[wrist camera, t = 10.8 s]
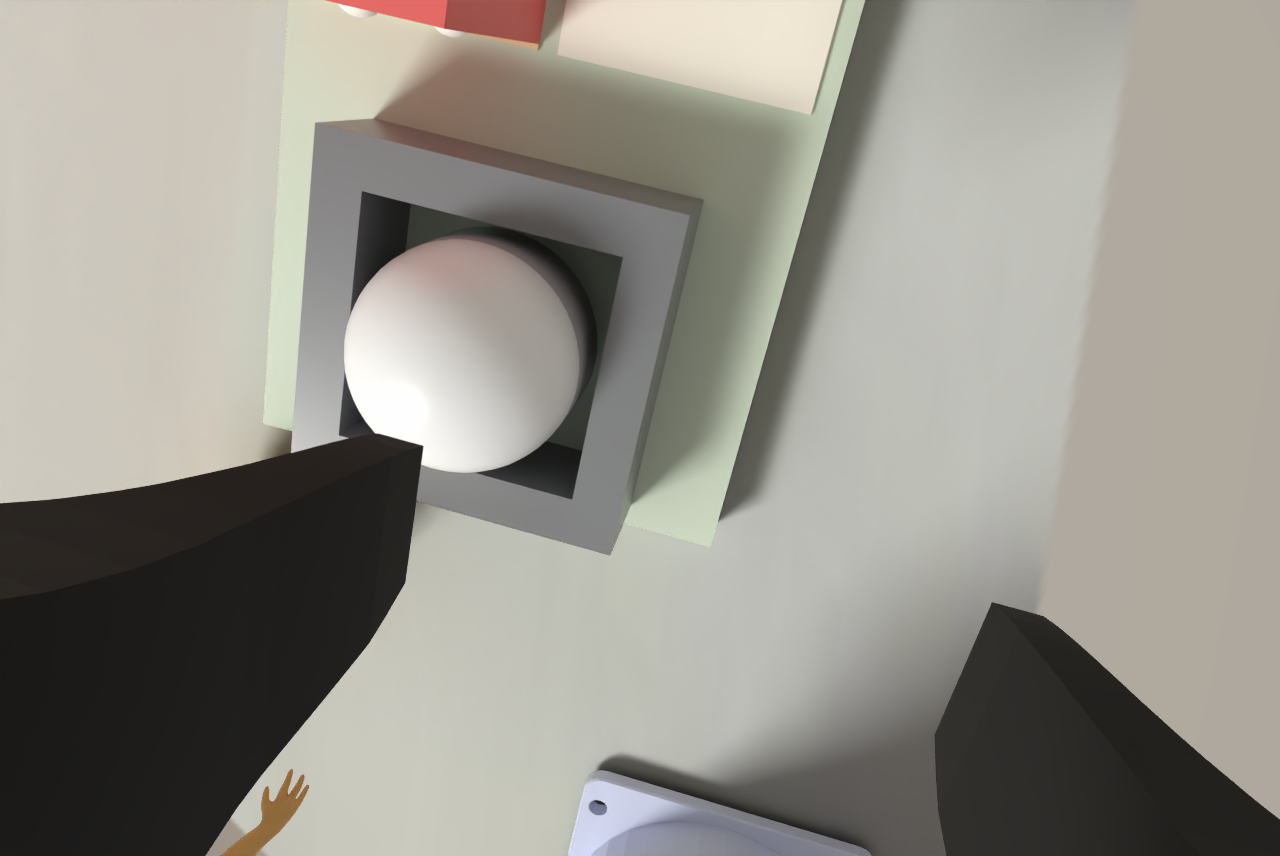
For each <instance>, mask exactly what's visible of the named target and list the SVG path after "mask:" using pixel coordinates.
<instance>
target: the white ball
mask: <svg viewBox="0 0 1280 856" xmlns="http://www.w3.org/2000/svg"><path fill="white" fill-rule="evenodd" d="M596 356H597V327H596V320H595V316H594V313H593V309H592V306H591V303H590V301H589V298H588V296H587V293H586V292H585V290H584V288H583V286H582V284H581V283H580V281H579V279H578V278H577V277H576V275H575V274H574V273H573V271H572V270H571V269H570V267H569V266H568V265H567V264H566V263H565V262H564V261H563V260H562V259H561V258H560V257H559V256H558V255H556V254H555V253H554V252H553V251H552V250H550V249H549V248H548V247H546V246H545V245H543V244H541V243H540V242H538V241H537V240H535V239H533V238H530V237H528V236H526V235H524V234H521V233H518V232H515V231H512V230H509V229H503V228H498V227H471V228H465V229H461V230H457V231H453V232H451V233H448V234H446V235H443V236H441V237H438V238H436V239H434V240H431V241H429V242H426V243H424V244H421V245H419V246H416V247H414V248H412V249H409V250H408V251H406V252H404V253H403V254H401V255H399V256H397V257H396V258H394V259H392V260H391V261H390V262H389V263H387V264H386V265H385V266H384V267H382V268H381V269H380V270H379V271H378V272H377V273H376V275H375V276H374V277H373V278H372V279H371V280H370V281H369V282H368V284H367V285H366V286H365V288H364V289H363V291H362V292H361V294H360V295H359V297H358V299H357V301H356V303H355V306H354V308H353V310H352V312H351V315H350V318H349V321H348V325H347V328H346V334H345V340H344V365H345V374H346V378H347V383H348V387H349V389H350V392H351V395H352V398H353V400H354V402H355V404H356V406H357V408H358V410H359V412H360V413H361V415H362V417H363V418H364V420H365V421H366V423H367V424H368V425H369V426H370V428H371V429H372V430H373V431H374V433H375V434H378V433H379V434H382V435H386V436H390V437H393V438H397V439H400V440H404V441H408V442H411V443H415V444H419V445H422V446H424V447H423V454H422V462H421V465H424V466H427V467H429V468H433V469H438V470H442V471H448V472H458V473H473V472H481V471H487V470H492V469H497V468H500V467H503V466H506V465H509V464H511V463H513V462H515V461H517V460H520V459H521V458H523V457H525V456H527V455H528V454H530V453H531V452H533V451H534V450H536V449H537V448H539V447H540V446H541V445H542V444H543V443H544V442H545V441H546V440H547V439H548V438H549V437H550V436H551V435H552V434H553V433H554V432H555V431H556V430H557V428H558V427H559V426H560V425H561V423H562V422H563V421H564V419H565V418H566V417H567V415H568V414H569V412H570V411H571V410H572V408H573V407H574V405H575V404H576V403H577V401H578V400H579V399H580V397H581V395H582V394H583V392H584V391H585V389H586V387H587V385H588V383H589V381H590V378H591V376H592V373H593V370H594V366H595V363H596Z"/></svg>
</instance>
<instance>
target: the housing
mask: <svg viewBox="0 0 1280 856" xmlns="http://www.w3.org/2000/svg"><path fill="white" fill-rule="evenodd" d="M703 202H704V200H703V199H699V198H695V197H691V196H686V195H682V194H678V193H674V192H670V191H666V190H662V189H658V188H654V187H650V186H646V185H642V184H638V183H634V182H630V181H626V180H622V179H617V178H613V177H609V176H605V175H601V174H597V173H593V172H589V171H585V170H581V169H577V168H573V167H569V166H565V165H561V164H557V163H553V162H548V161H544V160H540V159H536V158H532V157H528V156H524V155H520V154H516V153H512V152H508V151H504V150H500V149H496V148H492V147H488V146H484V145H479V144H475V143H471V142H467V141H463V140H459V139H455V138H451V137H447V136H443V135H439V134H435V133H431V132H427V131H423V130H419V129H415V128H410V127H406V126H402V125H398V124H394V123H390V122H386V121H382V120H378V119H374V118H372V119H358V120H344V121H330V122H315V130H314V144H313V157H312V171H311V185H310V198H309V212H308V226H307V239H306V253H305V266H304V280H303V294H302V307H301V321H300V335H299V348H298V362H297V375H296V389H295V403H294V416H293V430H292V444H291V453H293V452H297V451H301V450H305V449H308V448H312V447H316V446H320V445H324V444H328V443H331V442H335V441H340V440H344V439H348V438H353V437H357V436H363V435H369V434H375V433H374V431H373V430H372V429H371V428H370V426H369V425H368V424H367V423H366V421H365V420H364V418H363V417H362V415H361V413H360V412H359V410H358V408H357V406H356V404H355V402H354V400H353V398H352V395H351V392H350V389H349V387H348V383H347V378H346V374H345V365H344V340H345V334H346V328H347V325H348V321H349V318H350V315H351V312H352V310H353V308H354V306H355V303H356V301H357V299H358V297H359V295H360V294H361V292H362V291H363V289H364V288H365V286H366V285H367V284H368V282H369V281H370V280H371V279H372V278H373V277H374V276H375V275H376V273H377V272H378V271H379V270H380V269H381V268H382V267H384V266H385V265H386V264H387V263H389V262H390V261H391V260H392V259H394V258H396V257H397V256H399V255H401V254H403V253H404V252H405V250H406V242H407V233H408V224H409V216H410V207H411V204H415V205H419V206H423V207H427V208H431V209H435V210H438V211H442V212H446V213H450V214H454V215H458V216H462V217H466V218H470V219H474V220H478V221H482V222H486V223H490V224H494V225H498V226H502V227H506V228H510V229H513V230H517V231H521V232H525V233H529V234H533V235H537V236H541V237H545V238H549V239H553V240H557V241H561V242H565V243H569V244H573V245H577V246H581V247H585V248H588V249H592V250H596V251H600V252H604V253H608V254H612V255H616V256H620V257H623V260H622V265H621V270H620V274H619V279H618V284H617V289H616V294H615V298H614V303H613V308H612V313H611V317H610V322H609V327H608V332H607V336H606V341H605V346H604V351H603V355H602V360H601V365H600V370H599V375H598V379H597V384H596V389H595V394H594V398H593V403H592V408H591V413H590V417H589V422H588V427H587V432H586V436H585V441H584V446H583V451H581V450H577V449H574V448H570V447H566V446H563V445H559V444H555V443H552V442H548V441H545V442H544V443H543V444H542V445H541V446H540V447H539V448H537V449H536V450H534V451H533V452H531V453H530V454H528V455H527V456H525V457H523V458H521V459H520V460H517V461H515V462H513V463H511V464H509V465H506V466H503V467H500V468H497V469H492V470H487V471H481V472H473V473H458V472H448V471H442V470H438V469H433V468H429V467H427V466H424V465H421V469H420V477H419V484H418V491H417V499H416V501H417V502H421V503H425V504H428V505H432V506H435V507H439V508H442V509H446V510H450V511H453V512H457V513H460V514H464V515H467V516H471V517H475V518H478V519H482V520H485V521H489V522H492V523H496V524H500V525H503V526H507V527H510V528H514V529H517V530H521V531H524V532H528V533H532V534H535V535H539V536H542V537H546V538H549V539H553V540H557V541H560V542H564V543H567V544H571V545H574V546H578V547H582V548H585V549H589V550H592V551H596V552H599V553H603V554H607V555H611V552H612V550H613V547H614V545H615V543H616V540H617V538H618V535H619V533H620V531H621V528H622V526H623V523H624V521H625V519H626V516H627V514H628V511H629V509H630V506H631V503H632V499H633V495H634V491H635V486H636V482H637V478H638V474H639V470H640V465H641V461H642V457H643V453H644V449H645V444H646V440H647V436H648V432H649V428H650V424H651V419H652V415H653V411H654V407H655V403H656V398H657V394H658V390H659V386H660V382H661V377H662V373H663V369H664V365H665V361H666V357H667V352H668V348H669V344H670V340H671V336H672V331H673V327H674V323H675V319H676V315H677V310H678V306H679V302H680V298H681V294H682V290H683V285H684V281H685V277H686V273H687V269H688V264H689V260H690V256H691V252H692V248H693V243H694V239H695V235H696V231H697V227H698V222H699V218H700V214H701V210H702V206H703Z"/></svg>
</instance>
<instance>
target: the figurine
mask: <svg viewBox="0 0 1280 856" xmlns="http://www.w3.org/2000/svg"><path fill="white" fill-rule="evenodd" d="M292 774H293V770H292V769H291V770H290V771H289V772H288V774H287V777H286V779H285V781H284V783H283V785H282V787H281V789H280V791H279V793H278V795H277V797H276V799H275V801H273V802H271V801H270V800H269V787H268V786H267V787H266V788H265V789H264V792H263V796H262V802H261V809H262V821H261V823H260V824H259V825H258V826H257V827H256V828H255V829H253V830H252V831H250V832H249V833H248V834H246V835H245V836H244V837H242V838H241V839H240V840H238V841H237V842H236V843H234V844H233V845H232V846H231V847H230V848H228V849H227V850H226V851H225V852H224V853H223V854H222V855H221V856H255V855H256V854H257V853H258V852H259V851H260V849H261V848H262V847H263V846H264V845H265V844H266V843H267V842H268V841H270V840H271V839H272V838H273V837H274V836H275V835H276V834H278V833H279V832H280V830H281V829H282V828H283V827H284V826H285V825H286V823H287V822H288V821H289V820H290V819H291V817H292V816H293V815H294V813H295V812H296V810H297V809H298V807H299V806H300V804H301V802H302V801H303V799H304V797H305V795H306V793H307V791H308V788H309V785H307V786H306V787H305V788H304V789H303V791H302V793H301V794H300V796H299V797H298V798H297V799H296V800H295V798H296V796H297V794H298V793H299V791H300V789H301V787H302V784H303V781H304V775H301V777H300V778H299V780H298V782H297V783H296V785H295V787H294V788H293V790H292V791H291V793H290V794H289V795H288V788H289V785H290V782H291V778H292Z"/></svg>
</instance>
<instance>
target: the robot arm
mask: <svg viewBox="0 0 1280 856" xmlns="http://www.w3.org/2000/svg"><path fill="white" fill-rule="evenodd" d="M423 447H424V446H422V445H419V444H415V443H411V442H408V441H404V440H400V439H397V438H393V437H390V436H386V435H382V434H379V433H378V434H369V435H363V436H357V437H353V438H348V439H344V440H340V441H335V442H331V443H328V444H324V445H320V446H316V447H312V448H308V449H305V450H301V451H297V452H293V453H289V454H285V455H282V456H278V457H274V458H270V459H266V460H262V461H259V462H255V463H251V464H247V465H243V466H238V467H234V468H229V469H225V470H220V471H216V472H211V473H207V474H202V475H198V476H193V477H189V478H184V479H180V480H175V481H171V482H166V483H161V484H155V485H150V486H145V487H139V488H133V489H126V490H120V491H114V492H106V493H99V494H92V495H84V496H77V497H70V498H61V499H52V500H41V501H27V502H14V503H0V856H205V855H206V854H207V852H208V851H209V849H210V848H211V846H212V845H213V843H214V842H215V840H216V839H217V837H218V836H219V834H220V833H221V831H222V830H223V828H224V827H225V825H226V823H227V822H228V821H229V819H230V818H231V816H232V815H233V813H234V812H235V810H236V809H237V807H238V806H239V804H240V803H241V802H242V800H243V799H244V798H245V796H246V795H247V794H248V792H249V791H250V790H251V788H252V787H253V786H254V784H255V783H256V782H257V780H258V779H259V778H260V776H261V775H262V774H263V773H264V772H265V770H266V769H267V768H268V767H269V765H270V764H271V763H272V762H273V761H274V759H275V758H276V757H277V756H278V754H279V753H280V752H281V751H282V750H283V748H284V747H285V746H286V745H287V744H288V742H289V741H290V740H291V739H292V737H293V736H294V735H295V734H296V733H297V731H298V730H299V729H300V728H301V726H302V725H303V724H304V723H305V722H306V720H307V719H308V718H309V717H310V716H311V714H312V713H313V712H314V711H315V709H316V708H317V707H318V706H319V705H320V703H321V702H322V701H323V700H324V699H325V697H326V696H327V695H328V694H329V692H330V691H331V690H332V689H333V688H334V686H335V685H336V684H337V683H338V681H339V680H340V679H341V678H342V676H343V675H344V674H345V673H346V671H347V670H348V669H349V668H350V666H351V665H352V664H353V663H354V661H355V660H356V659H357V658H358V657H359V655H360V654H361V653H362V651H363V650H364V649H365V648H366V646H367V645H368V644H369V642H370V641H371V639H372V638H373V636H374V634H375V633H376V631H377V629H378V628H379V626H380V625H381V623H382V621H383V620H384V618H385V617H386V615H387V613H388V611H389V610H390V608H391V606H392V605H393V603H394V601H395V599H396V598H397V596H398V594H399V592H400V591H401V589H402V587H403V586H404V584H405V580H406V573H407V565H408V558H409V550H410V543H411V536H412V528H413V521H414V514H415V506H416V499H417V491H418V484H419V477H420V469H421V462H422V454H423ZM935 759H936V783H937V798H938V811H939V817H940V823H941V828H942V834H943V839H944V844H945V849H946V854H947V856H1280V819H1278V818H1277V817H1276V816H1274V815H1273V814H1272V813H1271V812H1269V811H1268V810H1267V809H1266V808H1264V807H1263V806H1262V805H1260V804H1259V803H1258V802H1257V801H1255V800H1254V799H1253V798H1252V797H1251V796H1249V795H1248V794H1247V793H1246V792H1245V791H1243V790H1242V789H1241V788H1240V787H1239V786H1237V785H1236V784H1235V783H1234V782H1233V781H1231V780H1230V779H1229V778H1228V777H1227V776H1225V775H1224V774H1223V773H1222V772H1221V771H1219V770H1218V769H1217V768H1216V767H1215V766H1213V765H1212V764H1211V763H1210V762H1209V761H1207V760H1206V759H1205V758H1204V757H1203V756H1202V755H1201V754H1199V753H1198V752H1197V751H1196V750H1195V749H1194V748H1193V747H1191V746H1190V745H1189V744H1188V743H1187V742H1186V741H1185V740H1183V739H1182V738H1181V737H1180V736H1179V735H1178V734H1177V733H1175V732H1174V731H1173V730H1172V729H1171V728H1170V727H1169V726H1168V725H1167V724H1165V723H1164V722H1163V721H1162V720H1161V719H1160V718H1159V717H1158V716H1157V715H1155V714H1154V713H1153V712H1152V711H1151V710H1150V709H1149V708H1148V707H1147V706H1146V705H1145V704H1143V703H1142V702H1141V701H1140V700H1139V699H1138V698H1137V697H1136V696H1135V695H1134V694H1132V693H1131V692H1130V691H1129V690H1128V689H1127V688H1126V687H1125V686H1124V685H1123V684H1122V683H1121V682H1120V681H1118V680H1117V679H1116V678H1115V677H1114V676H1113V675H1112V674H1111V673H1110V672H1109V671H1108V670H1107V669H1105V668H1104V667H1103V666H1102V665H1101V664H1100V663H1099V662H1098V661H1097V660H1096V659H1094V658H1093V657H1092V656H1091V655H1090V654H1089V653H1088V652H1087V651H1086V650H1085V649H1083V648H1082V647H1081V646H1080V645H1079V644H1078V643H1076V642H1075V641H1074V640H1073V639H1072V638H1071V637H1070V636H1069V635H1067V634H1066V633H1065V632H1064V631H1063V630H1061V629H1060V628H1059V627H1058V626H1056V625H1055V624H1053V623H1052V622H1051V621H1049V620H1048V619H1047V618H1045V617H1044V616H1040V615H1037V614H1033V613H1029V612H1026V611H1022V610H1019V609H1015V608H1011V607H1008V606H1004V605H1000V604H997V603H993V602H992V604H991V606H990V608H989V611H988V613H987V615H986V618H985V620H984V622H983V625H982V627H981V629H980V632H979V634H978V636H977V639H976V641H975V643H974V645H973V648H972V650H971V652H970V655H969V657H968V659H967V662H966V664H965V666H964V669H963V671H962V673H961V676H960V678H959V680H958V682H957V685H956V687H955V689H954V692H953V694H952V696H951V699H950V701H949V703H948V706H947V708H946V710H945V713H944V715H943V717H942V719H941V722H940V724H939V726H938V729H937V731H936V733H935ZM594 800H600V801H602V802H604V803H605V805H600V804H597V803H595V802H594ZM567 856H871V854H870V853H869V852H868V851H867V850H866V849H864V848H862V847H859V846H856V845H853V844H849V843H846V842H843V841H839V840H836V839H833V838H829V837H826V836H823V835H819V834H816V833H813V832H809V831H806V830H803V829H799V828H796V827H793V826H789V825H786V824H783V823H779V822H776V821H773V820H769V819H766V818H763V817H759V816H756V815H753V814H749V813H746V812H743V811H739V810H736V809H733V808H729V807H726V806H722V805H719V804H716V803H712V802H709V801H706V800H702V799H699V798H696V797H692V796H689V795H686V794H682V793H679V792H676V791H672V790H669V789H666V788H662V787H659V786H656V785H652V784H649V783H646V782H642V781H639V780H636V779H632V778H629V777H626V776H622V775H619V774H616V773H612V772H609V771H603V770H599V771H594V772H593V773H591V774H590V775H589V776H588V778H587V780H586V783H585V787H584V790H583V794H582V798H581V802H580V806H579V810H578V814H577V818H576V822H575V826H574V830H573V834H572V838H571V842H570V846H569V850H568V854H567Z"/></svg>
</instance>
